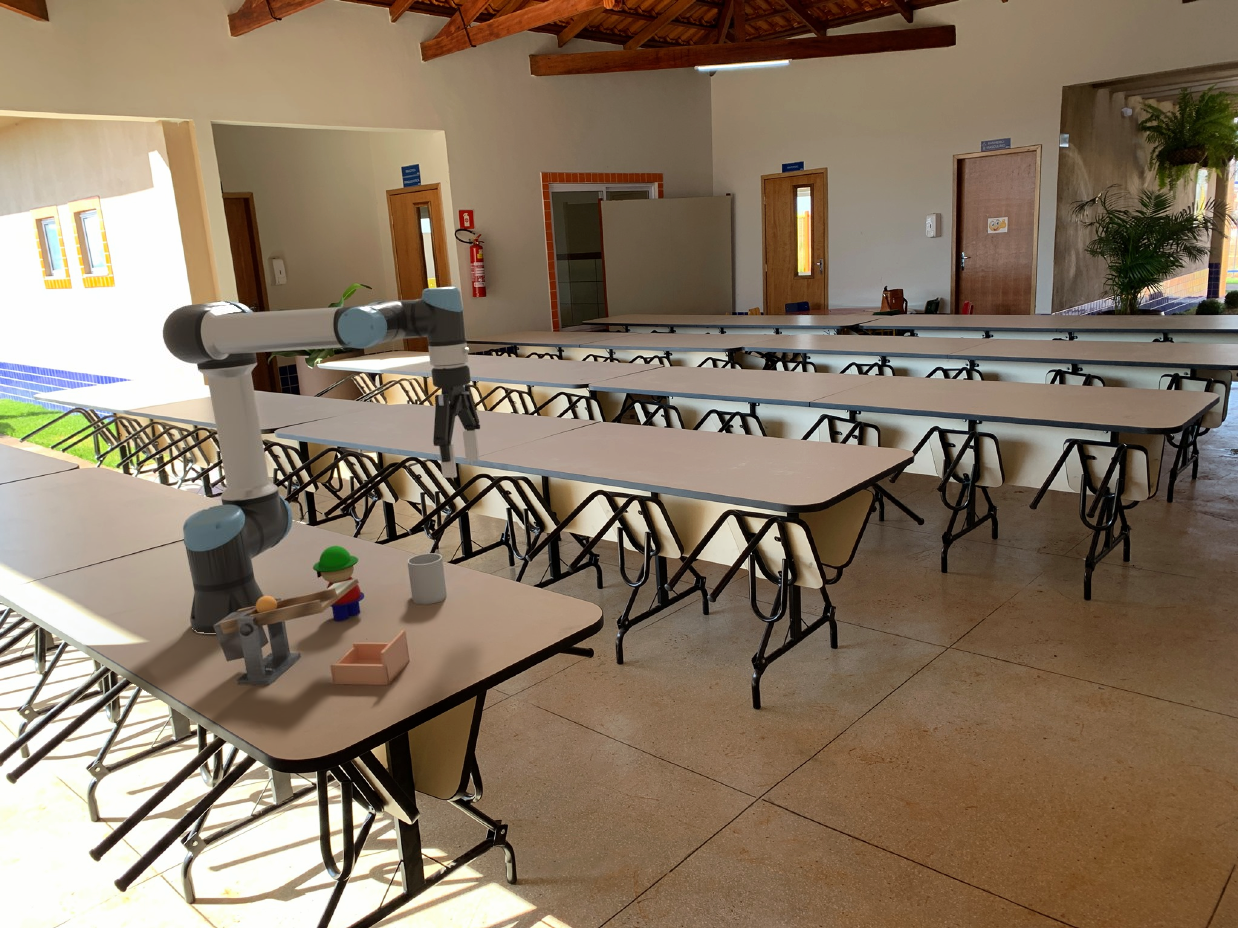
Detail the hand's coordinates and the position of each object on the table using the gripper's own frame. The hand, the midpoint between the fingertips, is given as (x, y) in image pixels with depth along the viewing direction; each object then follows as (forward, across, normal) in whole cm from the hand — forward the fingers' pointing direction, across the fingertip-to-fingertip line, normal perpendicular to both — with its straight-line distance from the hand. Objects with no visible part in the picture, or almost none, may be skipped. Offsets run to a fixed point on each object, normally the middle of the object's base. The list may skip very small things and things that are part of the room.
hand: (461, 468), depth 186 cm
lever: (+23, -32, +23) cm, 45 cm away
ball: (+16, -35, +26) cm, 46 cm away
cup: (+28, 0, +11) cm, 30 cm away
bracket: (+28, -35, +27) cm, 53 cm away
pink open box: (+28, -35, +7) cm, 46 cm away
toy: (+28, -10, +25) cm, 39 cm away
